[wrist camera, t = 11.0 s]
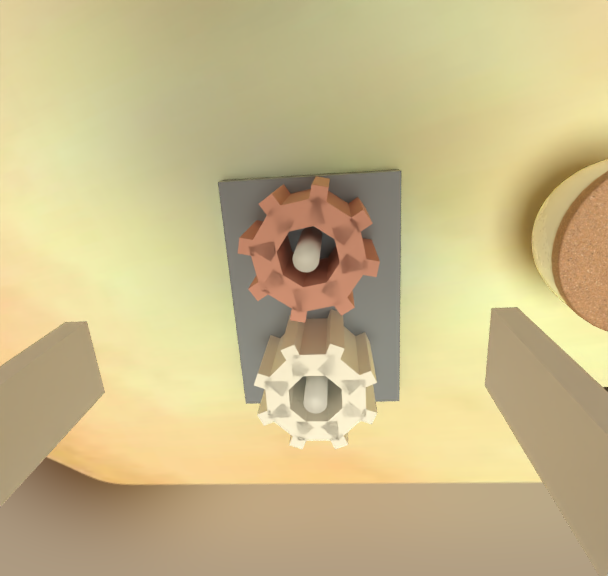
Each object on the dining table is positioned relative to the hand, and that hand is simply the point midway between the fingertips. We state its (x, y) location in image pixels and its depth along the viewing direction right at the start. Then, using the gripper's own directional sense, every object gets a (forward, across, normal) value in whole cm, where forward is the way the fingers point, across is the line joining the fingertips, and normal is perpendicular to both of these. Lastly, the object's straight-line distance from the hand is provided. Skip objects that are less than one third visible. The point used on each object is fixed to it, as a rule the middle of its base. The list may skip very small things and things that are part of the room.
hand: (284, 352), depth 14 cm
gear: (+19, 0, 0) cm, 19 cm away
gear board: (+20, 0, -5) cm, 21 cm away
